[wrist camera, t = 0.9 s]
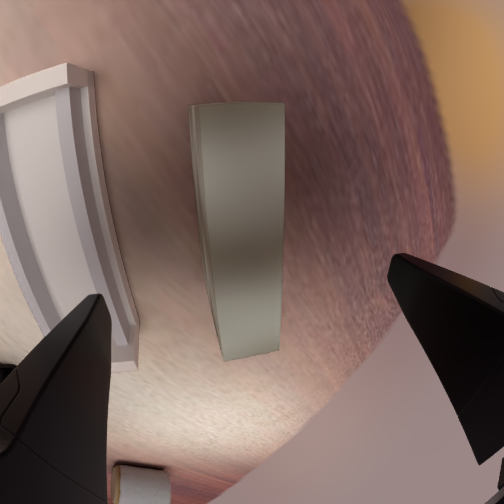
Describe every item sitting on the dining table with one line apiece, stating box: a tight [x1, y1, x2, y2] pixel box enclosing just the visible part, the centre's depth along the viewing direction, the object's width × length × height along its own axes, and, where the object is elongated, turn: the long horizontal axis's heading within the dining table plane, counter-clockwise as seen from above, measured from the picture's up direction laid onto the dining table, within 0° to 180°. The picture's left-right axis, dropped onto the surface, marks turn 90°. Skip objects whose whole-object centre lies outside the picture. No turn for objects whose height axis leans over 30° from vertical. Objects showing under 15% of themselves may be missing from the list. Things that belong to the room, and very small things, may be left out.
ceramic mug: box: [111, 465, 171, 504], centre depth 32 cm, size 11×8×8 cm
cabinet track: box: [0, 63, 140, 373], centre depth 15 cm, size 18×7×5 cm, turn 2°
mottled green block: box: [188, 102, 285, 361], centre depth 16 cm, size 12×3×8 cm, turn 2°
